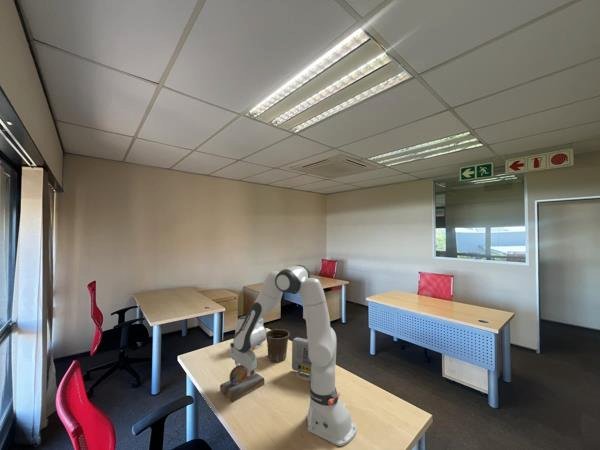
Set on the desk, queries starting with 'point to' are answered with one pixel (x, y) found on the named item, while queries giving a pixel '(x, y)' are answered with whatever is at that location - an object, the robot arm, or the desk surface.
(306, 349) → the network device
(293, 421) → the desk surface
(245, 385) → the plinth
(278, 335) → the plant pot
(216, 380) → the desk surface
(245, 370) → the tin
